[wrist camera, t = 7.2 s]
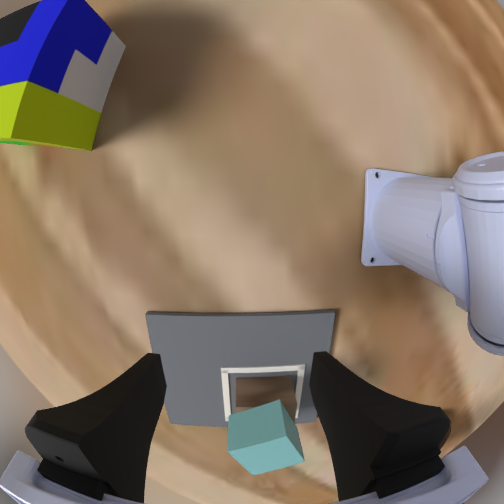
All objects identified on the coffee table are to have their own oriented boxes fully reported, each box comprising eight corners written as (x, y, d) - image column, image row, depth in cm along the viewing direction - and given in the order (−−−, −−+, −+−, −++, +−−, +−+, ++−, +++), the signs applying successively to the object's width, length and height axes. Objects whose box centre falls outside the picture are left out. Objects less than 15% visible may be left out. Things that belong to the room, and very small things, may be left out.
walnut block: (290, 375, 23) (297, 404, 20) (286, 410, 25) (291, 438, 21) (235, 377, 23) (235, 407, 19) (237, 412, 24) (237, 441, 21)
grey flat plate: (332, 309, 23) (335, 313, 22) (314, 417, 26) (315, 422, 25) (147, 311, 22) (144, 315, 21) (171, 419, 25) (170, 424, 25)
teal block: (279, 399, 19) (286, 435, 15) (297, 427, 20) (304, 461, 16) (228, 415, 20) (227, 451, 16) (250, 441, 21) (252, 475, 17)
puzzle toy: (126, 46, 17) (74, -11, 7) (91, 150, 19) (10, 138, 9) (49, 54, 16) (-8, 23, 6) (20, 144, 18) (-51, 140, 8)
